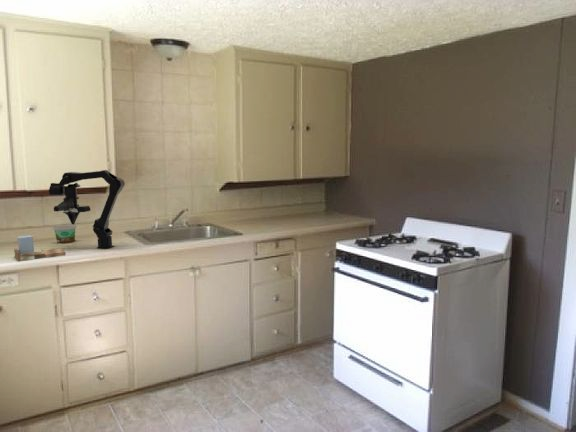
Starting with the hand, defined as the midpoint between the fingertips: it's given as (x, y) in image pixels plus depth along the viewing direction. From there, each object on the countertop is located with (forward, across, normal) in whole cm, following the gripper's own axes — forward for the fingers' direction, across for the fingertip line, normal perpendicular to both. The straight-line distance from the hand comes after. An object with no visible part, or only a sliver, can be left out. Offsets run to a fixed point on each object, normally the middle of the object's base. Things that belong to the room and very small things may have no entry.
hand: (73, 224), depth 253 cm
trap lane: (+13, -5, -20) cm, 25 cm away
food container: (+13, -14, +12) cm, 23 cm away
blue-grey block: (+11, -9, -25) cm, 29 cm away
